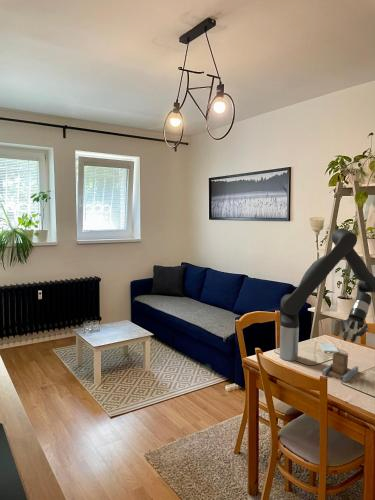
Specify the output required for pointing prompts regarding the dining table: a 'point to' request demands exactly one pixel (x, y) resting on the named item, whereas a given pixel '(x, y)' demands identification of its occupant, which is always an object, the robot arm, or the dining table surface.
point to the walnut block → (339, 365)
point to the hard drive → (328, 347)
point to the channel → (344, 377)
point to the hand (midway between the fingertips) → (348, 340)
